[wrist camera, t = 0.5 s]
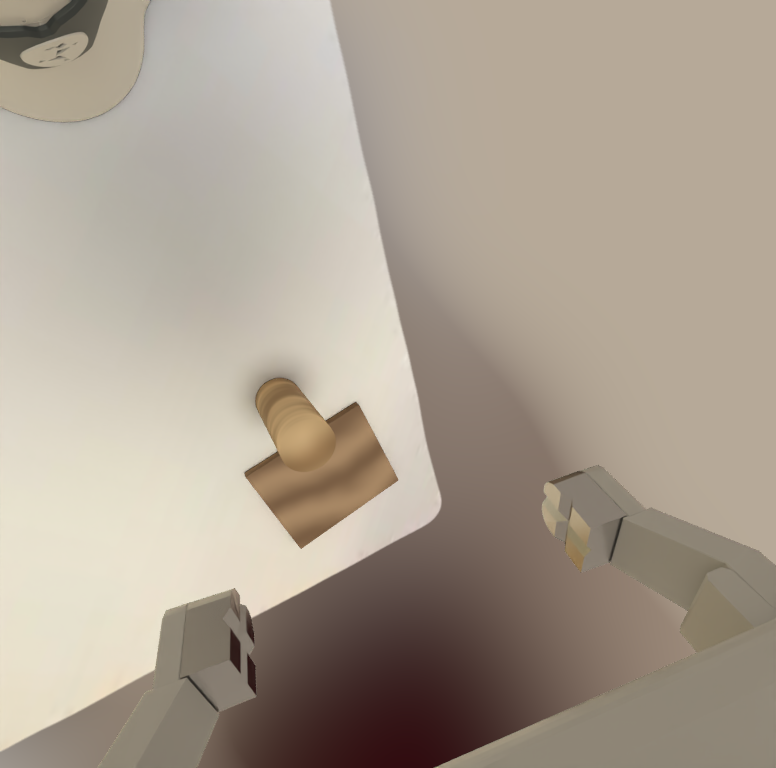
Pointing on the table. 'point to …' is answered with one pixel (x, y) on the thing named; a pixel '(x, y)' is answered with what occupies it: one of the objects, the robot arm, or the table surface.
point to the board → (326, 480)
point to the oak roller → (295, 425)
